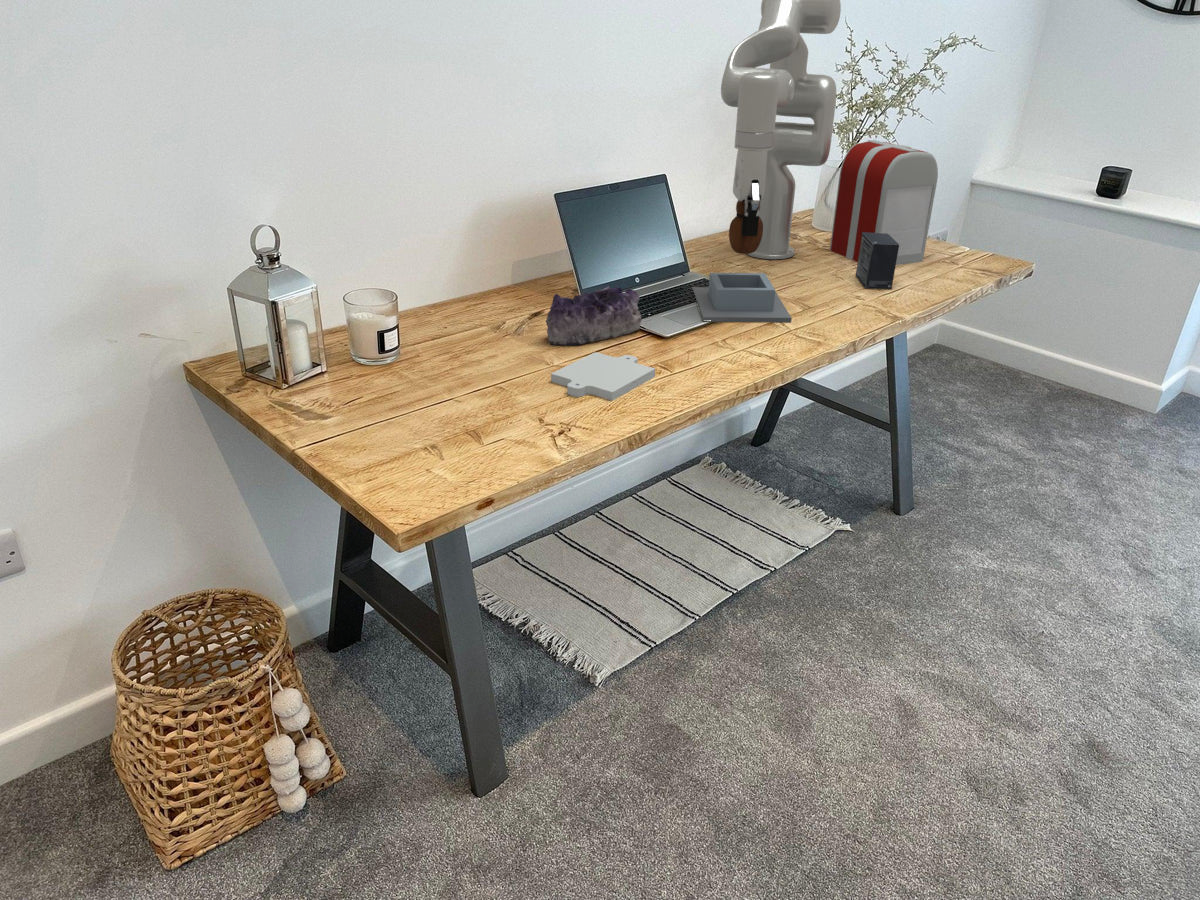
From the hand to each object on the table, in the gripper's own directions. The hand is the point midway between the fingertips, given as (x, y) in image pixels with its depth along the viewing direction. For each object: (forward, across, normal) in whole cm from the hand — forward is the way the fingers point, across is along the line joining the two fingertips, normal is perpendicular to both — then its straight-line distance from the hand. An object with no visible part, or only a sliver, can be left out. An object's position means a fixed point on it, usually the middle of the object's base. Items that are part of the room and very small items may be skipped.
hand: (746, 230), depth 190 cm
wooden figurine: (+5, 0, 0) cm, 5 cm away
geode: (+17, +18, -32) cm, 40 cm away
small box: (+16, -18, +34) cm, 42 cm away
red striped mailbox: (+16, -41, +41) cm, 60 cm away
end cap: (+16, 0, 0) cm, 16 cm away
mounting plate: (+17, +40, -30) cm, 53 cm away
